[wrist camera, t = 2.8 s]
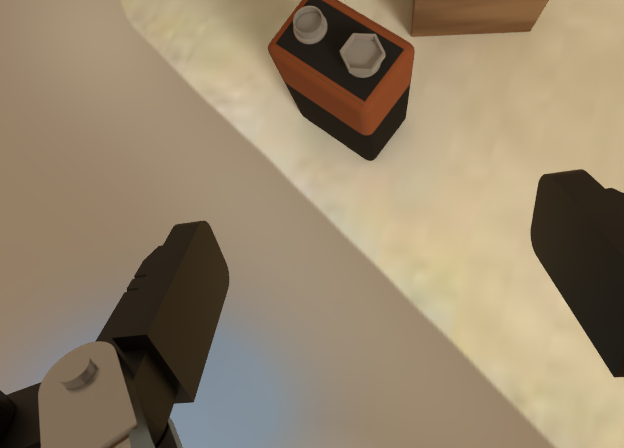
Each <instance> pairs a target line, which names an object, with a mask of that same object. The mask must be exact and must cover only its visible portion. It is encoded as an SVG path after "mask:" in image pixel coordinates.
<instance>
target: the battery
mask: <svg viewBox="0 0 624 448" xmlns="http://www.w3.org/2000/svg"><path fill="white" fill-rule="evenodd" d="M268 51H269V53H270V55H271V57H272V59H273V61H274V63H275V65H276V67H277V69H278V70H279V72H280V74H281V76H282V78H283V80H284V82H285V84H286V86H287V87H288V89H289V91H290V93H291V95H292V97H293V99H294V101H295V103H296V104H297V106H298V108H299V110H300V112H301V114H302V115H303V116H304V117H305V118H307V119H308V120H309V121H311V122H312V123H314V124H315V125H317V126H318V127H319V128H321V129H322V130H324V131H325V132H327V133H328V134H330V135H331V136H332V137H334V138H335V139H337V140H338V141H340V142H341V143H343V144H344V145H346V146H347V147H348V148H350V149H351V150H353V151H354V152H356V153H357V154H359V155H360V156H361V157H363V158H364V159H366V160H369V161H371V160H374V159H375V158H376V157H377V155H378V154H379V153H380V151H381V150H382V149H383V148H384V146H385V145H386V144H387V142H388V141H389V140H390V138H391V137H392V136H393V134H394V133H395V132H396V130H397V129H398V128H399V126H400V125H401V124H402V122H403V121H404V120H405V118H406V111H407V104H408V97H409V89H410V82H411V75H412V67H413V60H414V47H413V46H412V44H410V43H409V42H407V41H406V40H404V39H402V38H401V37H399V36H397V35H396V34H394V33H392V32H391V31H389V30H387V29H386V28H384V27H382V26H380V25H379V24H377V23H375V22H374V21H372V20H370V19H369V18H367V17H365V16H364V15H362V14H360V13H358V12H357V11H355V10H353V9H352V8H350V7H348V6H347V5H345V4H343V3H342V2H340V1H338V0H302V1H301V2H300V3H299V5H298V6H297V7H296V9H295V10H294V11H293V13H292V14H291V15H290V17H289V18H288V19H287V21H286V22H285V24H284V25H283V26H282V28H281V29H280V30H279V32H278V33H277V34H276V36H275V37H274V38H273V40H272V41H271V42H270V44H269V46H268Z"/></svg>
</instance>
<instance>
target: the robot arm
mask: <svg viewBox="0 0 624 448" xmlns="http://www.w3.org/2000/svg"><path fill="white" fill-rule="evenodd" d="M531 242H532V246H533V249H534V252H535V254H536V256H537V257H538V259H539V261H540V262H541V264H542V265H543V267H544V268H545V270H546V272H547V273H548V275H549V276H550V278H551V279H552V281H553V282H554V284H555V286H556V287H557V289H558V290H559V292H560V293H561V295H562V297H563V298H564V300H565V301H566V303H567V304H568V306H569V307H570V309H571V311H572V312H573V314H574V315H575V317H576V318H577V320H578V322H579V323H580V325H581V326H582V328H583V329H584V331H585V332H586V334H587V336H588V337H589V339H590V340H591V342H592V343H593V345H594V347H595V348H596V350H597V351H598V353H599V354H600V356H601V358H602V359H603V361H604V362H605V364H606V365H607V367H608V368H609V370H610V372H611V373H612V375H613V376H614V377H624V193H622V192H620V191H617V190H615V189H613V188H607V189H605V188H604V187H603V186H601V185H600V184H599V183H598V182H597V181H596V180H595V179H594V178H593V177H592V176H591V175H590V174H588V173H587V172H586V171H585V170H581V169H579V170H572V171H565V172H558V173H551V174H544V175H543V176H542V177H541V178H540V180H539V183H538V189H537V195H536V201H535V207H534V213H533V219H532V225H531ZM134 277H135V279H132V281H131V282H130V284H129V286H128V287H127V292H125V293H124V294H123V296H122V298H121V299H120V301H119V303H118V304H117V306H116V308H115V309H114V311H113V313H112V314H111V316H110V318H109V320H108V321H107V323H106V325H105V326H104V328H103V330H102V331H101V333H100V335H99V336H98V338H97V340H96V341H95V342H92V343H88V344H85V345H82V346H80V347H78V348H76V349H74V350H72V351H71V352H69V353H68V354H66V355H65V356H64V357H62V358H61V359H60V360H59V361H58V362H57V363H56V364H55V365H54V366H53V367H52V368H51V369H50V370H49V371H48V373H47V374H46V376H45V377H44V379H43V381H42V382H41V383H38V384H35V385H33V386H30V387H27V388H24V389H22V390H19V391H16V392H13V393H11V394H8V395H5V394H4V393H3V392H2V391H0V448H183V447H182V444H181V441H180V439H179V436H178V434H177V431H176V428H175V426H174V423H173V421H172V420H171V419H170V417H169V416H170V413H171V411H172V408H173V404H174V403H190V402H194V399H195V396H196V393H197V390H198V386H199V382H200V379H201V376H202V373H203V370H204V366H205V363H206V360H207V357H208V353H209V350H210V347H211V343H212V340H213V337H214V333H215V330H216V327H217V324H218V320H219V317H220V314H221V310H222V307H223V304H224V300H225V297H226V294H227V290H228V287H229V271H228V267H227V264H226V261H225V259H224V257H223V255H222V252H221V250H220V247H219V245H218V243H217V241H216V238H215V236H214V234H213V232H212V229H211V227H210V225H209V224H208V223H207V222H206V221H198V222H191V223H183V224H177V225H175V226H174V227H173V229H172V230H171V232H170V234H169V236H168V237H167V239H166V241H165V243H164V244H163V246H158V247H157V248H156V249H155V250H154V251H153V252H152V253H151V254H150V255H149V256H148V257H147V258H146V259H145V260H144V261H143V262H142V264H141V266H140V267H139V269H138V271H137V272H136V274H135V276H134Z"/></svg>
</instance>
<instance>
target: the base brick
mask: <svg viewBox="0 0 624 448" xmlns="http://www.w3.org/2000/svg"><path fill="white" fill-rule="evenodd" d="M548 1H549V0H413V12H412V35H411V37H414V36H437V35H459V34H482V33H504V32H527V31H531V29H532V27H533V26H534V24H535V22H536V21H537V19H538V17H539V16H540V14H541V12H542V11H543V9H544V7H545V6H546V4H547V3H548Z"/></svg>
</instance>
